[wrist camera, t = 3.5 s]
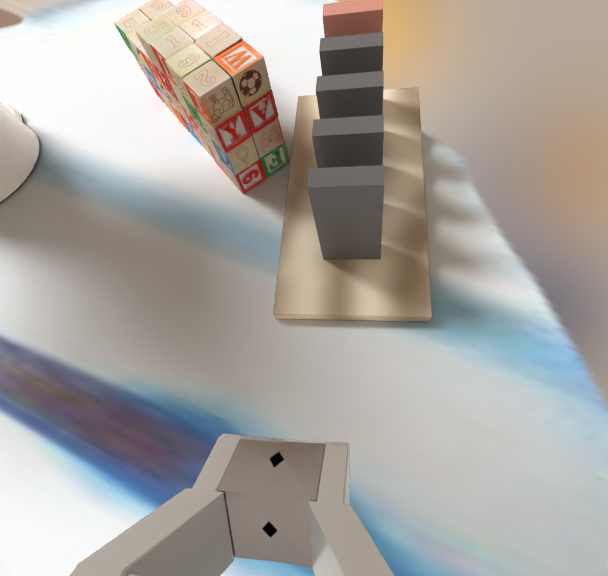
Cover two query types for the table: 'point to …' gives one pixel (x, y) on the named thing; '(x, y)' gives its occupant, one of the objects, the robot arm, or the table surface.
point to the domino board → (395, 231)
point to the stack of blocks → (210, 86)
